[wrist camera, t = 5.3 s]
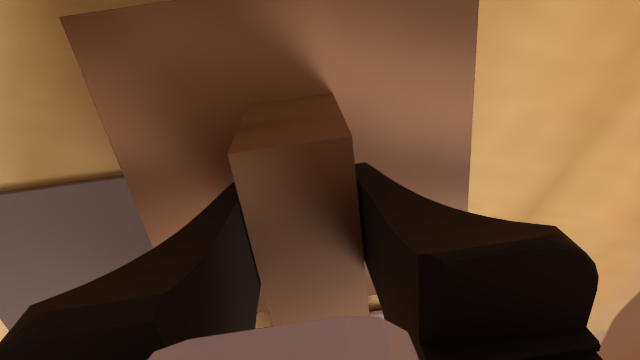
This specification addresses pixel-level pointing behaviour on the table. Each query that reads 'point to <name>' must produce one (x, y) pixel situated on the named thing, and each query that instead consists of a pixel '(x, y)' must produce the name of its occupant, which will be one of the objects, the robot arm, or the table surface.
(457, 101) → the lid
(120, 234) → the mat
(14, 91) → the table surface
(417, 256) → the robot arm
